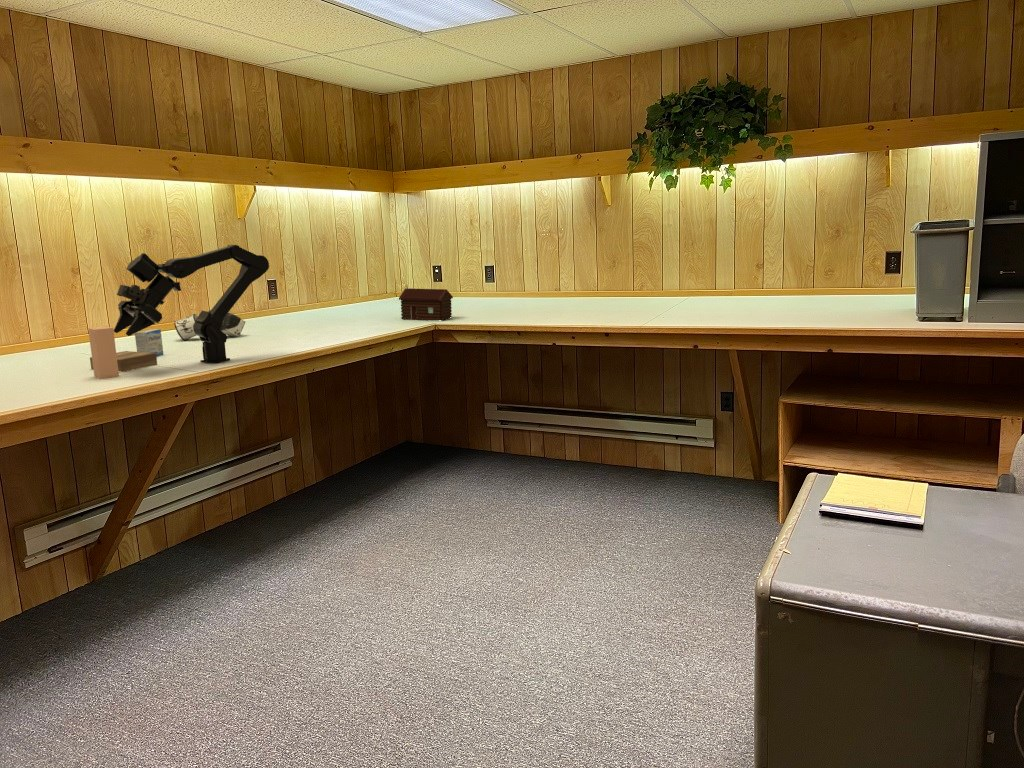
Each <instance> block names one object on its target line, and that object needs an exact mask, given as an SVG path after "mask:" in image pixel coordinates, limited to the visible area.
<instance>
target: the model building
mask: <svg viewBox="0 0 1024 768" xmlns="http://www.w3.org/2000/svg"><path fill="white" fill-rule="evenodd" d="M405 286H406V288H404V290H403V291H402V293H401V294H400V295H399V296H398V300H399V301H400V310H401V311H400V312H401V314H400V315H401V317H400V318H401V320H406V321H407V320H409V321H411V320H413V321H428V320H443V321H445V320H444V319H447V318H450V317H452V315H453V314H452V308H453V307H452V299H454V297H453V295H452V294H451V293H450V292H449V290H448V289H445V288H444V289H443V288H442V289H441V288H408V284H406V285H405ZM452 318H453V317H452ZM447 320H448V319H447Z"/></svg>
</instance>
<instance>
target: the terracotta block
mask: <svg viewBox="0 0 1024 768" xmlns="http://www.w3.org/2000/svg"><path fill="white" fill-rule="evenodd" d="M87 329H88V336H89V337H88V338H89V343H90V344H89V345H90V354H91V357H92V362H93V369H92V370H93V377H94V376H95V378H97V377H98V379H100V378H102V379H107V378H106V377H109V378H115V377H114V376H116V377H119V376H120V374H119V373H120V372H118V364H117V355H116V353H117V348H116V340H115V332H114V327H111V326H98V327H97V326H96V327H89V328H87Z"/></svg>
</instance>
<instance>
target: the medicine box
mask: <svg viewBox="0 0 1024 768" xmlns="http://www.w3.org/2000/svg"><path fill="white" fill-rule="evenodd" d="M134 339H135V347H136V352H147V353H156V357H159V356H162V355H164V346H163V338H162V329H160V328H151V329H146V330H145V329H144V330H140V331H138V332H136V333H134Z"/></svg>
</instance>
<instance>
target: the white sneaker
mask: <svg viewBox="0 0 1024 768" xmlns="http://www.w3.org/2000/svg"><path fill="white" fill-rule="evenodd" d="M198 316H199V315H198V314H197V313H192V314H191V315H188V316H186V317H184V318H181V319H178V320H177V321H174V324H173V325H174V329H175V330H176V333H177V335H178V336H179V337H180V338H181V340H182V341H188V340H190V339H193V338H194V337H198V336H197V335H196V334H195V332H194V330H193V325H194V323H195V322H196V321H194V320H195V319H196V318H197V317H198ZM241 318H242V317H239V316H238V315H236V314H234V313H231V312H228V313H227V315H226V316H225V318H224V321H223V325H222V327H221V329H220V330H221V331H222V332H223V333H224V334H226V335H227V337H232V338H233V337H234V338H240V336H241V334H242V332H243V329H244V327H245V324H246V321H245V320H243V319H241Z"/></svg>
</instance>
